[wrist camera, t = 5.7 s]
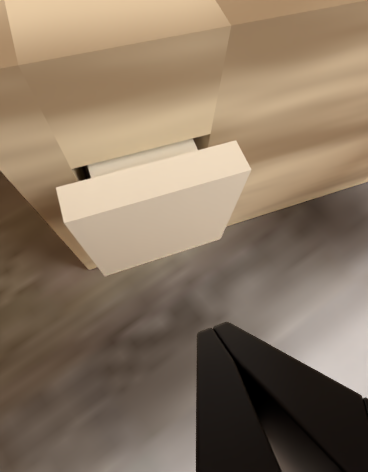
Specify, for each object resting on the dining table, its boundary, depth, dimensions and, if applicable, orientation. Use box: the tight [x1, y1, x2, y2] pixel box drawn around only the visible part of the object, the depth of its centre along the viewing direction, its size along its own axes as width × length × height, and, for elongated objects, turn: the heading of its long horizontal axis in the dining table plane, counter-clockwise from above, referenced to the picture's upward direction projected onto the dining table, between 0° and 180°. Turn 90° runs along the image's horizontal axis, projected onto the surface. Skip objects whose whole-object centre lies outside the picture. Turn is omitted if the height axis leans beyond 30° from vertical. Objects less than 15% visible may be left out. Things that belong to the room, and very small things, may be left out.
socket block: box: [0, 0, 368, 270], centre depth 14 cm, size 11×22×11 cm, turn 110°
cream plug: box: [56, 138, 251, 276], centre depth 11 cm, size 12×5×5 cm, turn 20°
